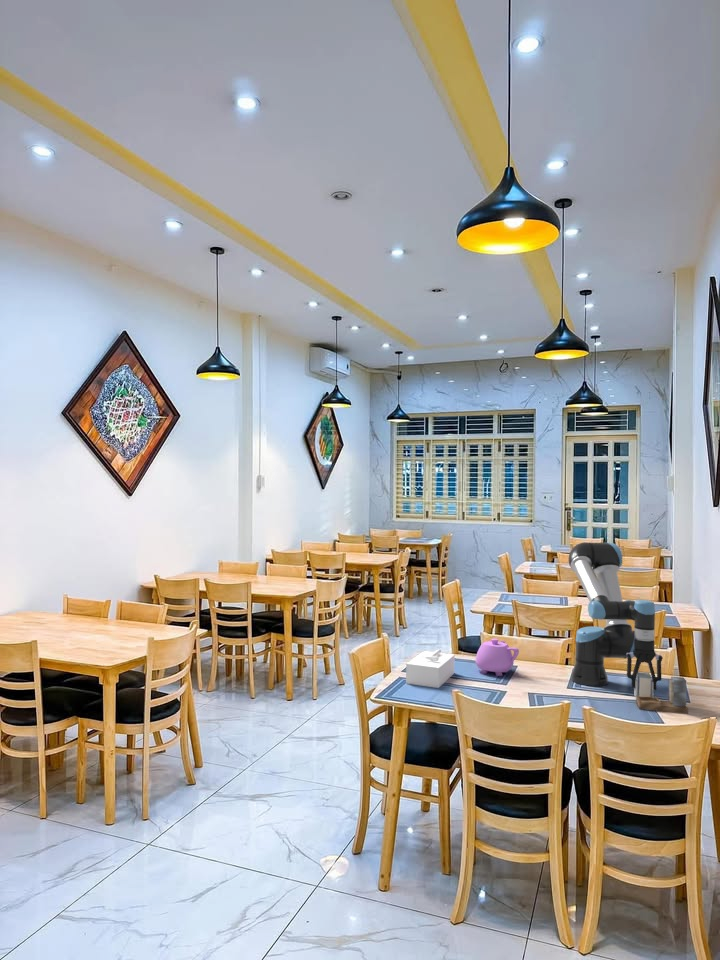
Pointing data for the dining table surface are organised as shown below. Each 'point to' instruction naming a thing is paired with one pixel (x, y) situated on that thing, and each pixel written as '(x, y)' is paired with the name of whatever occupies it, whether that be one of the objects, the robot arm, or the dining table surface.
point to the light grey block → (644, 684)
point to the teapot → (495, 657)
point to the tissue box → (430, 669)
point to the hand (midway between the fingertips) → (643, 696)
